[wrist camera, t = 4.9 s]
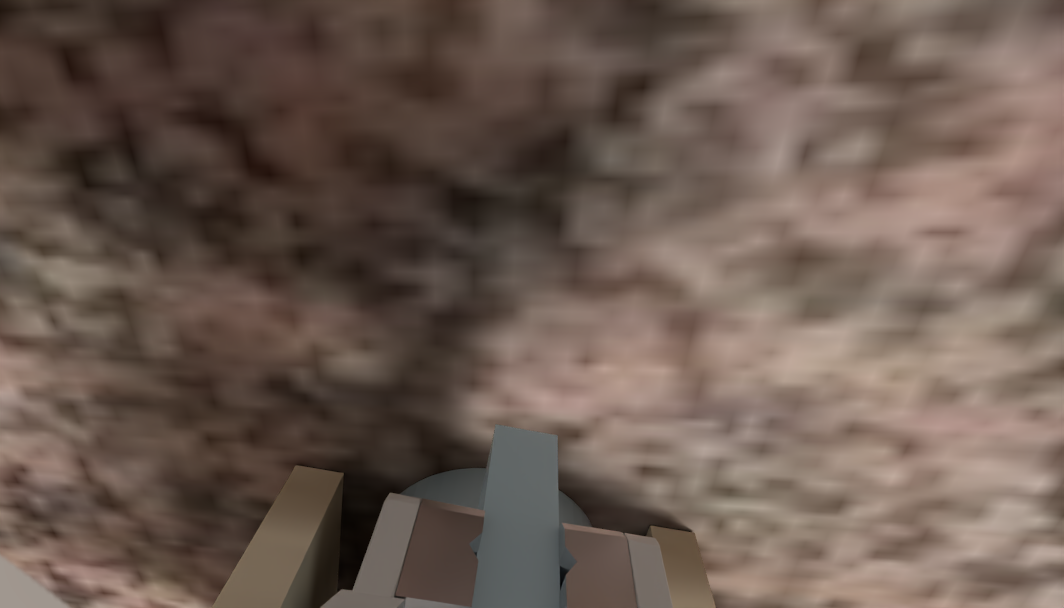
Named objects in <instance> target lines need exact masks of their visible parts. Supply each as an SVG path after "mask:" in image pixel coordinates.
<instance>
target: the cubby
mask: <svg viewBox="0 0 1064 608" xmlns="http://www.w3.org/2000/svg"><path fill="white" fill-rule="evenodd" d="M343 478H344V473H339V472H333V471H327V470H321V469H315V468H309V467H304V466H298V465H296V466H295V467H294V469H293V471H292V473H291V474H290V476H289V478H288V479H287V481H286V483H285V484H284V486H283V488H282V489H281V491H280V493H279V495H278V496H277V498H276V500H275V501H274V503H273V505H272V506H271V508H270V510H269V511H268V513H267V515H266V516H265V518H264V520H263V522H262V523H261V525H260V527H259V528H258V530H257V532H256V533H255V535H254V537H253V538H252V540H251V542H250V544H249V545H248V547H247V549H246V550H245V552H244V554H243V555H242V557H241V559H240V560H239V562H238V564H237V565H236V567H235V569H234V571H233V572H232V574H231V576H230V577H229V579H228V581H227V582H226V584H225V586H224V587H223V589H222V591H221V592H220V594H219V596H218V598H217V599H216V601H215V603H214V604H213V606H212V608H320V607H321V606H322V605H323V604H325V603H326V602H327V601H328V600H329V599H331V598H332V597H333V596H334V595H335V594H337V589H338V570H339V552H340V533H341V515H342V496H343ZM646 537H652V538H655V539H656V540H657V542H658V543H659V545H660V550H661V554H662V559H663V563H664V568H665V572H666V577H667V582H668V586H669V591H670V595H671V600H672V604H673V608H716V606H715V603H714V599H713V596H712V592H711V589H710V585H709V582H708V578H707V575H706V571H705V568H704V564H703V561H702V557H701V554H700V551H699V547H698V544H697V540H696V537H695V533H692V532H686V531H680V530H674V529H668V528H663V527H657V526H651V525H650V527H649V530H648V532H647V534H646Z"/></svg>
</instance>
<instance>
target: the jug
mask: <svg viewBox="0 0 1064 608" xmlns="http://www.w3.org/2000/svg"><path fill="white" fill-rule="evenodd" d="M400 494H401V495H406V496H411V497H416V498H422V499H423V498H424V499H429V500H434V501H439V502H444V503H449V504H454V505H459V506H464V507H469V508H474V509H479V510H485V516H484V524H483V532H482V537H481V541H480V546H479V551H478V552H477V556H476V557H477V559H478V567H477V574H476V581H475V588H474V594H473V601H472V607H471V608H559V593H560V565H559V526H560V525H561V523H567V524H574V525H580V526H586V527H592V525H591V523H590V521H589V519H588V517H587V516H586V515H585V513H584V512H583V511H582V509H581V508H580V507H579V506H578V505H577V504H576V503H575V502H574V501H573V500H572V499H570V498H569V497H568V496H567V495H565V494H564V493H563V492H561V491H560V490H558V437H557V435H552V434H547V433H541V432H536V431H530V430H524V429H519V428H513V427H508V426H502V425H495V430H494V434H493V439H492V444H491V448H490V453H489V458H488V462H487V467H486V468H467V469H457V470H452V471H446V472H443V473H439V474H436V475H432V476H430V477H427V478H425V479H423V480H420V481H418V482H417V483H415V484H413V485H411V486H410V487H408V488H407V489H405V490H404V491H403V492H402V493H400Z"/></svg>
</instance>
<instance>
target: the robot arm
mask: <svg viewBox="0 0 1064 608" xmlns="http://www.w3.org/2000/svg"><path fill="white" fill-rule="evenodd" d="M484 516H485V510H479V509H474V508H469V507H464V506H459V505H454V504H449V503H444V502H439V501H434V500H429V499H424V498H423V499H422V498H416V497H411V496H406V495H401V494H395V493H389V495H388V496H387V498H386V500H385V501H384V504H383V507H382V509H381V512H380V515H379V518H378V521H377V523H376V526H375V529H374V532H373V535H372V537H371V540H370V543H369V546H368V548H367V551H366V554H365V557H364V560H363V562H362V565H361V568H360V571H359V573H358V576H357V579H356V582H355V585H354V587H353V590H345V589H341V590H340V591H339V592H338V593H337V594H335V595H334V596H333V597H332V598H331V599H329V600H328V601H327V602H326V603H325V604H323V605H322V606H321V607H320V608H471V607H472V601H473V594H474V588H475V581H476V574H477V567H478V559H477V557H476V556H477V552H478V551H479V546H480V541H481V537H482V532H483V524H484ZM559 565H560V593H559V608H673V604H672V600H671V595H670V591H669V586H668V582H667V577H666V572H665V568H664V563H663V559H662V554H661V550H660V545H659V543H658V542H657V540H656V539H655V538H652V537H646V536H640V535H634V534H628V533H622V532H618V531H612V530H605V529H599V528H593V527H586V526H580V525H574V524H567V523H561V525H560V526H559Z"/></svg>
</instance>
